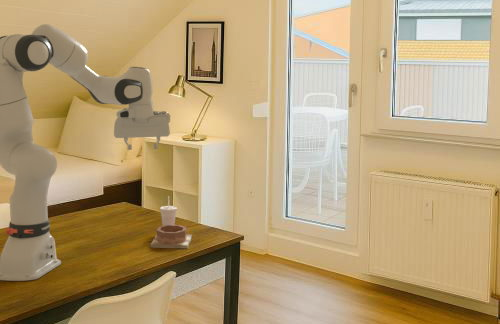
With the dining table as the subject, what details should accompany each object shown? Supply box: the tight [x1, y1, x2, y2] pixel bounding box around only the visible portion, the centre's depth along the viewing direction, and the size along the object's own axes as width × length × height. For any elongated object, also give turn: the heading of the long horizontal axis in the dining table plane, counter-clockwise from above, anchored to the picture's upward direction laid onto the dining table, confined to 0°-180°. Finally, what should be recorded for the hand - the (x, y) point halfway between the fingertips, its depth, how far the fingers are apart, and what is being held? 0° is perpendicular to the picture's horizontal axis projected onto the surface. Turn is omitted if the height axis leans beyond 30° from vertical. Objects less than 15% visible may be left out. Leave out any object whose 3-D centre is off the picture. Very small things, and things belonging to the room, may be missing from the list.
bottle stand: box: [149, 224, 193, 249], centre depth 221 cm, size 13×13×5 cm
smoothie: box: [159, 195, 178, 226], centre depth 232 cm, size 6×6×14 cm
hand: (142, 149), depth 226 cm, fingers open, 8 cm apart
